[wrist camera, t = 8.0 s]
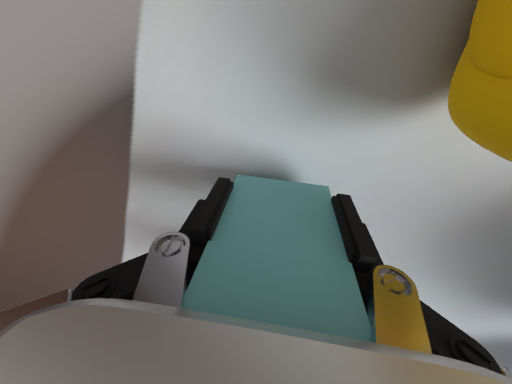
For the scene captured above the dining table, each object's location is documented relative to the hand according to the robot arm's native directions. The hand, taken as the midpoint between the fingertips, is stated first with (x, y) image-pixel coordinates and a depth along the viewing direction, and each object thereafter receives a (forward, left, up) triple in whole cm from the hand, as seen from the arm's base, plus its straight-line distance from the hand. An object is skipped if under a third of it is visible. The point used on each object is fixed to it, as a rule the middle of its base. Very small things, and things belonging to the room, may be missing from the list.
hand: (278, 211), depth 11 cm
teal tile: (0, 0, -1) cm, 1 cm away
